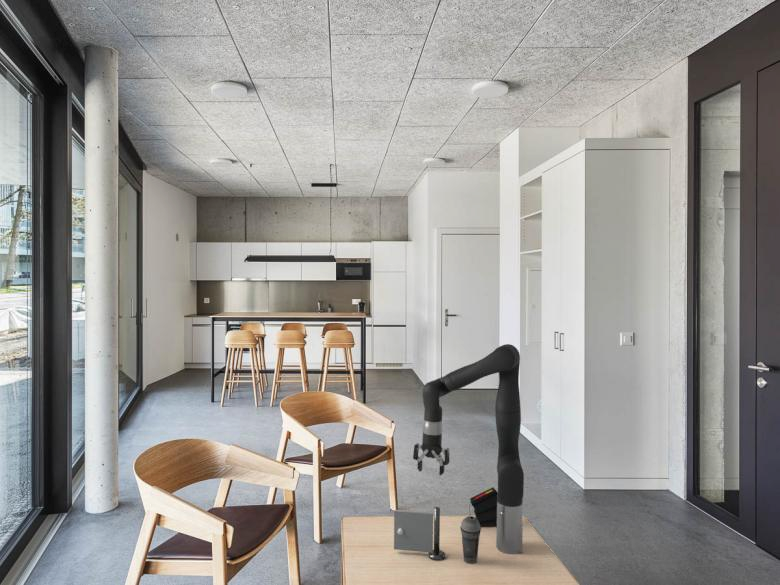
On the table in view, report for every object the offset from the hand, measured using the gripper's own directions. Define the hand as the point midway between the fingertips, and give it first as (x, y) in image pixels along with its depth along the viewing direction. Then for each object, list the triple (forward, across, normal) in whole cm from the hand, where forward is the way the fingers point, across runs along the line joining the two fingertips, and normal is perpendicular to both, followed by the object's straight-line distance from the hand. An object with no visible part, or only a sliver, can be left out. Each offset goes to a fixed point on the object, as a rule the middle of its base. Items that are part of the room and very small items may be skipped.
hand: (430, 472), depth 220 cm
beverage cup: (+23, -21, +15) cm, 35 cm away
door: (+22, -1, +19) cm, 30 cm away
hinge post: (+24, -9, +17) cm, 30 cm away
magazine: (+23, -20, -16) cm, 34 cm away
